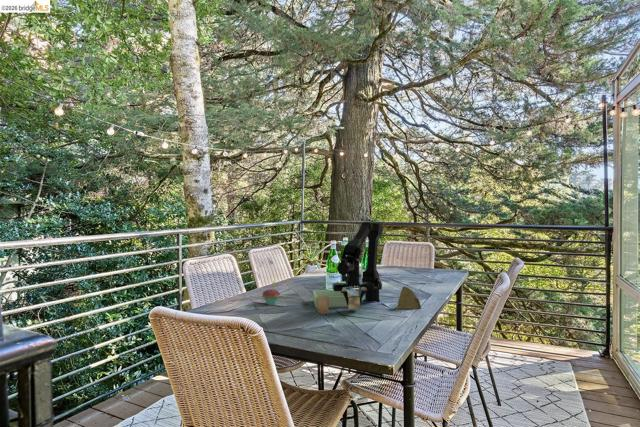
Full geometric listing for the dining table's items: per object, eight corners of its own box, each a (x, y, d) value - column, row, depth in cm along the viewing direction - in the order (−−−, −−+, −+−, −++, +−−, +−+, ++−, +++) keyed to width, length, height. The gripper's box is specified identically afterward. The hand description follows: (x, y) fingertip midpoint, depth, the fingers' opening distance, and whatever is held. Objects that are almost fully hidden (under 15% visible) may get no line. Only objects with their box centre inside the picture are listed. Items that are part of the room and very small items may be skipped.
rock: (425, 301, 194) (405, 296, 199) (423, 290, 189) (403, 284, 194) (416, 319, 187) (396, 313, 193) (414, 308, 182) (393, 301, 188)
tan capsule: (328, 310, 189) (327, 295, 188) (329, 313, 184) (329, 298, 183) (317, 310, 188) (317, 295, 188) (318, 313, 183) (318, 298, 183)
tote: (347, 299, 208) (347, 289, 208) (352, 306, 195) (352, 296, 194) (313, 300, 206) (313, 290, 206) (315, 308, 193) (315, 297, 193)
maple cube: (357, 305, 190) (357, 294, 190) (359, 308, 185) (359, 297, 185) (347, 305, 189) (347, 295, 189) (348, 308, 184) (348, 298, 184)
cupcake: (283, 302, 203) (282, 278, 203) (274, 306, 196) (273, 282, 195) (268, 300, 207) (268, 277, 206) (259, 304, 199) (258, 280, 199)
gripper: (369, 267, 196) (369, 299, 196) (330, 268, 194) (330, 301, 194) (374, 271, 184) (374, 305, 185) (333, 273, 182) (334, 307, 183)
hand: (353, 304), depth 187 cm, fingers closed on maple cube, 5 cm apart
